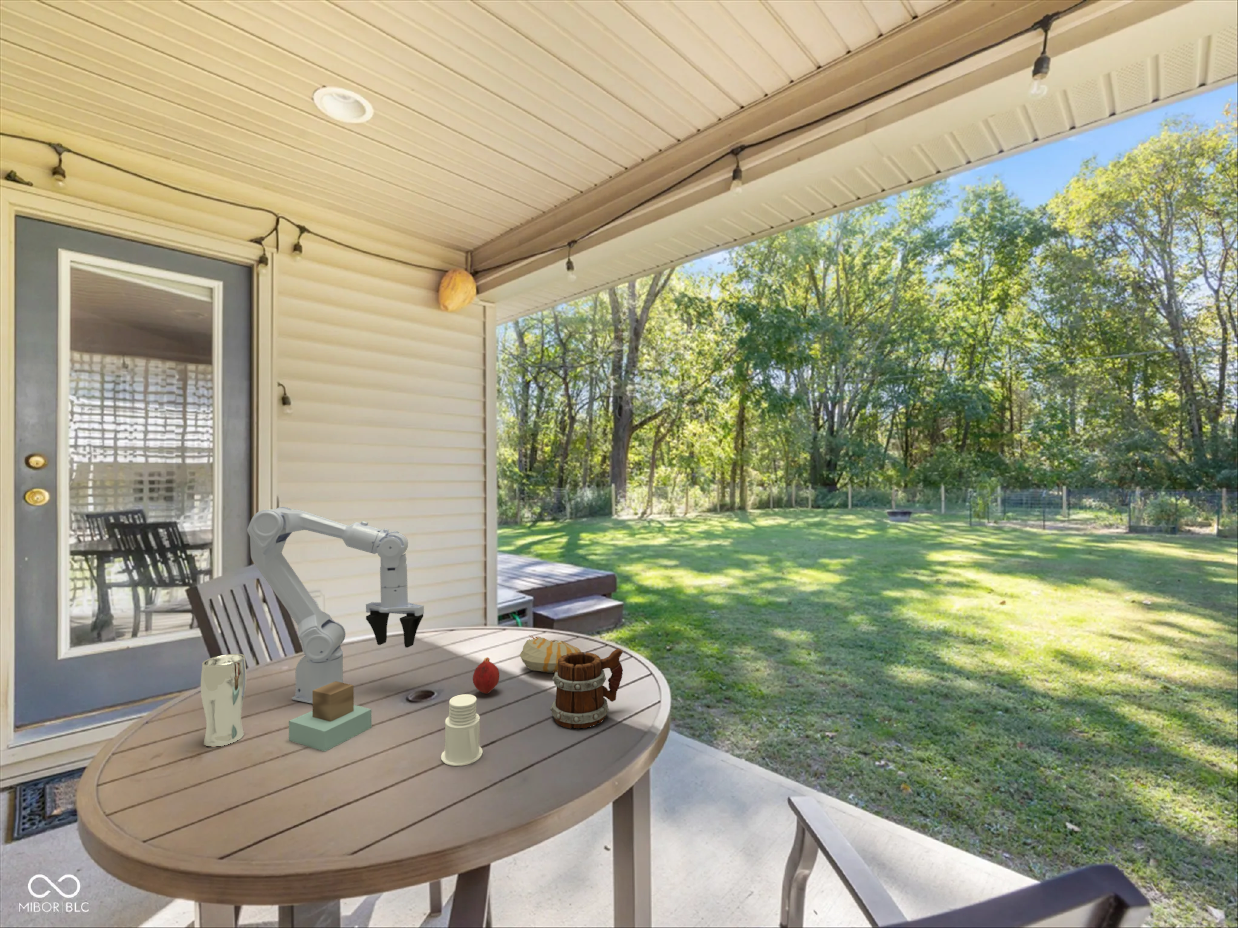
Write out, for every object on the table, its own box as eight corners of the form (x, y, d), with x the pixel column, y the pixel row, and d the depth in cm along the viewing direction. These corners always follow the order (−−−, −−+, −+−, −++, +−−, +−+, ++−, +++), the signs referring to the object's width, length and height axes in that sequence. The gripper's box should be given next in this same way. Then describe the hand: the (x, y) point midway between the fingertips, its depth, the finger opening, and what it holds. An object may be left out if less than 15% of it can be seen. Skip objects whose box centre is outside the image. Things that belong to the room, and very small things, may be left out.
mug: (541, 708, 114) (553, 636, 115) (605, 710, 118) (616, 641, 119) (552, 733, 103) (564, 653, 104) (622, 735, 107) (634, 658, 108)
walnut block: (312, 716, 103) (312, 690, 103) (335, 706, 108) (335, 681, 108) (330, 721, 101) (330, 694, 101) (353, 710, 106) (353, 684, 106)
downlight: (432, 754, 96) (433, 698, 96) (468, 740, 101) (469, 686, 101) (454, 773, 90) (455, 714, 90) (491, 757, 95) (492, 701, 95)
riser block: (288, 742, 102) (288, 720, 102) (336, 719, 111) (336, 700, 111) (324, 753, 98) (324, 731, 98) (371, 729, 107) (371, 709, 107)
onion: (492, 699, 119) (492, 663, 119) (468, 697, 120) (468, 661, 120) (503, 689, 125) (503, 654, 125) (480, 687, 126) (480, 652, 126)
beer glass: (255, 733, 104) (255, 655, 105) (218, 751, 98) (218, 667, 98) (229, 728, 107) (229, 651, 107) (191, 745, 100) (191, 663, 100)
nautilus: (507, 660, 145) (561, 655, 152) (529, 683, 126) (589, 676, 132) (508, 630, 146) (561, 626, 152) (530, 648, 127) (590, 643, 133)
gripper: (355, 588, 123) (356, 648, 123) (408, 590, 119) (410, 653, 119) (377, 581, 130) (379, 638, 130) (429, 583, 126) (430, 642, 125)
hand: (395, 644), depth 125 cm, fingers open, 7 cm apart
